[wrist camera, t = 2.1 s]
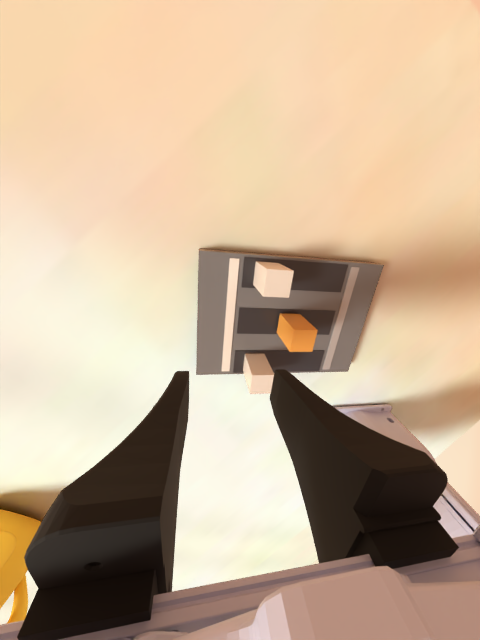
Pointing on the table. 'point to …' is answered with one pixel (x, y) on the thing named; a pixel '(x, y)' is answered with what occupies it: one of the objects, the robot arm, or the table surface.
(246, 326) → the panel
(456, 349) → the table surface
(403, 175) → the table surface
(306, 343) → the breaker
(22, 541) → the teapot
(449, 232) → the table surface
